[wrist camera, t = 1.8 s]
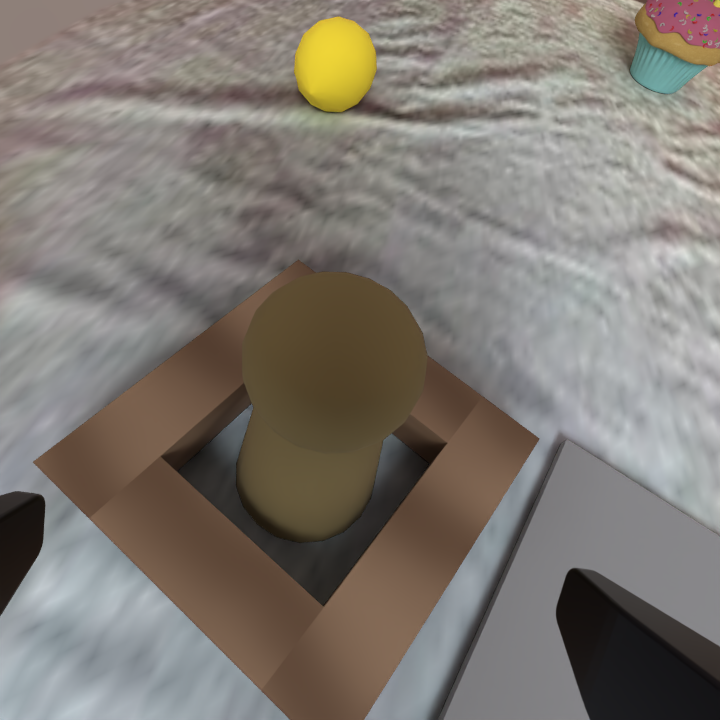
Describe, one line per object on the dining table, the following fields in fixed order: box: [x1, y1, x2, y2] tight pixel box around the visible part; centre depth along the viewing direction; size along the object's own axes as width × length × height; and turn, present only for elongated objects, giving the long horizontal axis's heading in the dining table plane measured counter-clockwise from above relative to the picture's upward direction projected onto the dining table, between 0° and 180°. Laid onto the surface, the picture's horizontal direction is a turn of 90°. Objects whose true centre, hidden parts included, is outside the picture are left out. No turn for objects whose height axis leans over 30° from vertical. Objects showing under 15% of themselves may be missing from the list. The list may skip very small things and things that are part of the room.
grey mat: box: [438, 439, 720, 720], centre depth 20 cm, size 14×14×1 cm
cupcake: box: [630, 0, 720, 94], centre depth 43 cm, size 9×8×12 cm
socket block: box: [33, 260, 539, 720], centre depth 21 cm, size 14×14×2 cm
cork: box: [236, 272, 428, 543], centre depth 18 cm, size 6×6×11 cm
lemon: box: [294, 17, 377, 112], centre depth 35 cm, size 7×5×5 cm
